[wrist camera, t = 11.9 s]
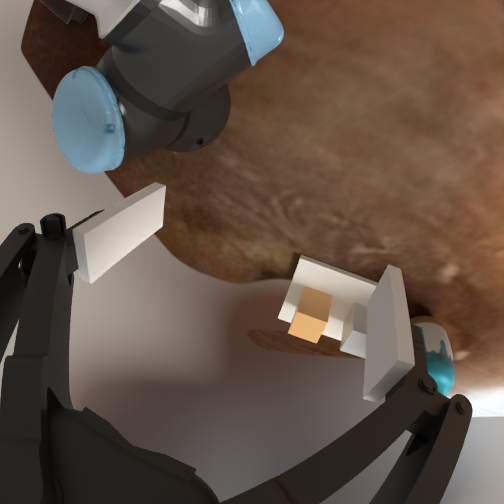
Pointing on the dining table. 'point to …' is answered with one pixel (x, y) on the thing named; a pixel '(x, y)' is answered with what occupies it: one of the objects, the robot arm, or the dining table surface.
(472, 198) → the dining table surface
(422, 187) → the dining table surface
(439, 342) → the vase
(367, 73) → the dining table surface
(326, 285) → the plate
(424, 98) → the dining table surface
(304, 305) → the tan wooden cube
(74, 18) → the diary
